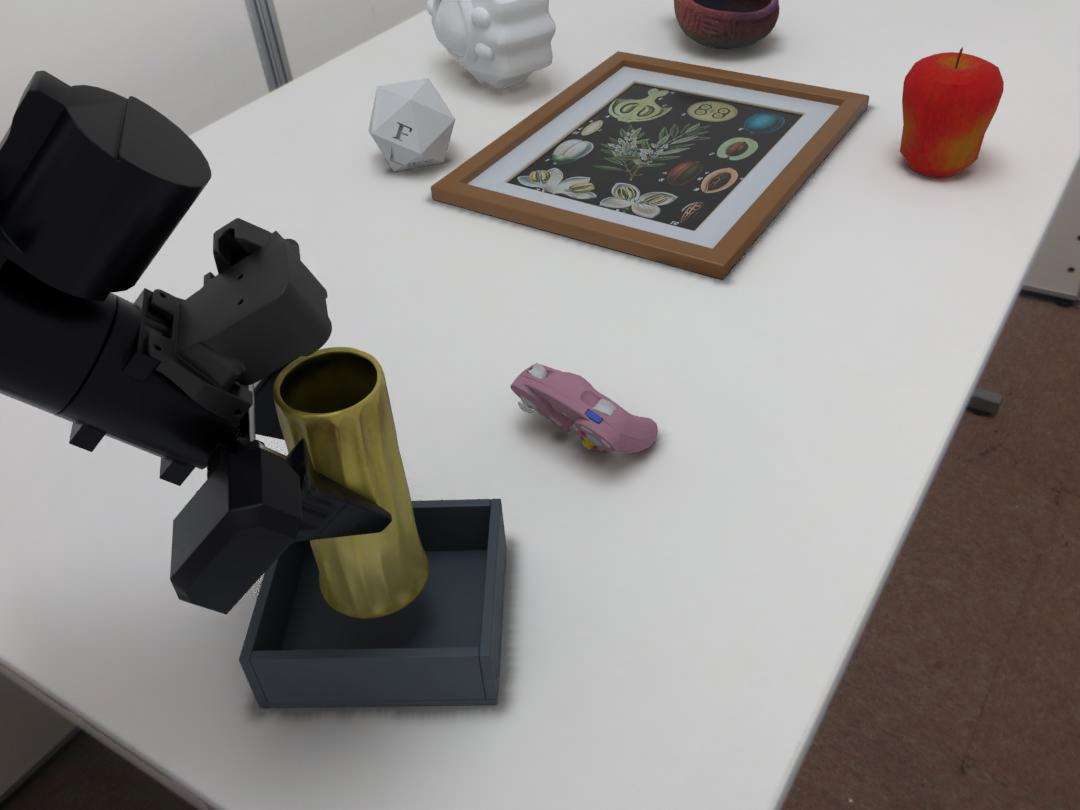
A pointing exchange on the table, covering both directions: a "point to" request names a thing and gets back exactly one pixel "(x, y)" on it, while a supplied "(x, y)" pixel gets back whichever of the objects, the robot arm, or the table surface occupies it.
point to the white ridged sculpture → (495, 37)
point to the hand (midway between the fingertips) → (380, 484)
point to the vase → (355, 477)
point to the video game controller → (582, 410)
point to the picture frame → (658, 159)
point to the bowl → (726, 21)
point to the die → (411, 124)
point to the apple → (948, 111)
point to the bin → (388, 624)
